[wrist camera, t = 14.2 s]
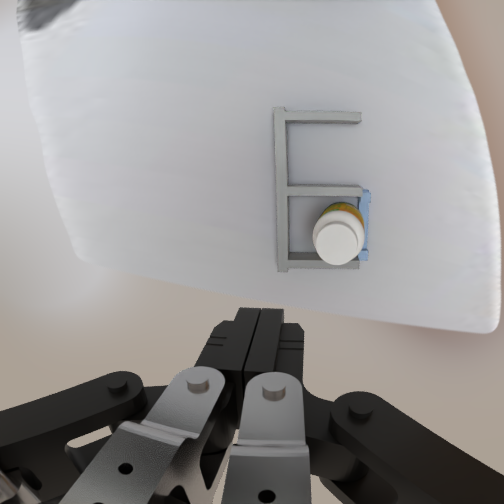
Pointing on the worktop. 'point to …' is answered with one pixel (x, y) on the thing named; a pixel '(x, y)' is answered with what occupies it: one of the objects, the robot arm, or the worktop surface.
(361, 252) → the light blue flat bar
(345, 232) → the supplement bottle
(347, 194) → the grey two-tier shelf
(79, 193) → the worktop surface
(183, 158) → the worktop surface
